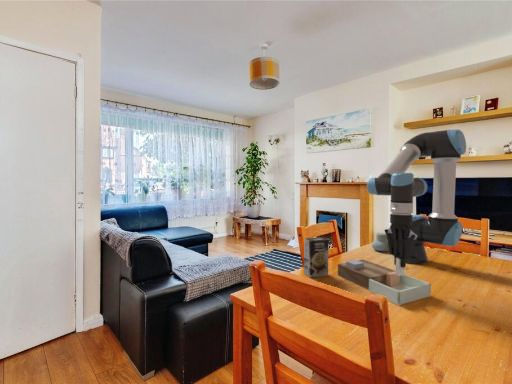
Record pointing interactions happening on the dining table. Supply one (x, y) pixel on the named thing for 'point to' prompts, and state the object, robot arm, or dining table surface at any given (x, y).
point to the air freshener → (380, 242)
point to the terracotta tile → (392, 279)
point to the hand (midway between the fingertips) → (399, 274)
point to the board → (364, 273)
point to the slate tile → (355, 264)
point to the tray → (402, 290)
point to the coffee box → (316, 256)
